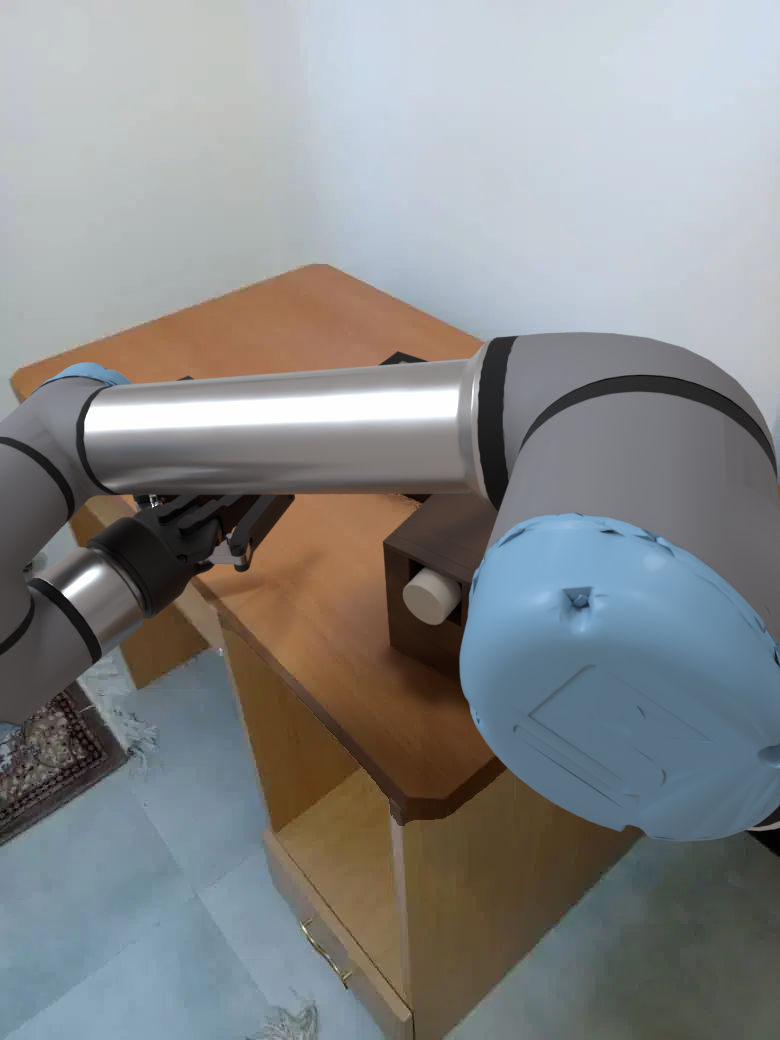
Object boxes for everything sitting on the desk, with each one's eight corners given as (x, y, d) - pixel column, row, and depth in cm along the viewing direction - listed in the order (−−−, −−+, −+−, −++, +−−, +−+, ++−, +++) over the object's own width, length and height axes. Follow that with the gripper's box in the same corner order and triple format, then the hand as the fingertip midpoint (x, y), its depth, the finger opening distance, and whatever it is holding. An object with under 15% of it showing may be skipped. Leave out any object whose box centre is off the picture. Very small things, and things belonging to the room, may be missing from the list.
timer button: (462, 612, 64) (463, 577, 61) (444, 632, 62) (444, 598, 60) (421, 592, 66) (420, 557, 63) (403, 611, 64) (401, 576, 61)
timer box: (541, 623, 73) (554, 518, 64) (484, 697, 67) (490, 592, 58) (450, 580, 78) (451, 476, 69) (389, 645, 72) (382, 541, 63)
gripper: (75, 583, 65) (272, 441, 78) (184, 655, 59) (376, 487, 72) (45, 514, 60) (261, 375, 73) (160, 584, 54) (372, 419, 67)
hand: (318, 431), depth 73 cm, fingers closed
